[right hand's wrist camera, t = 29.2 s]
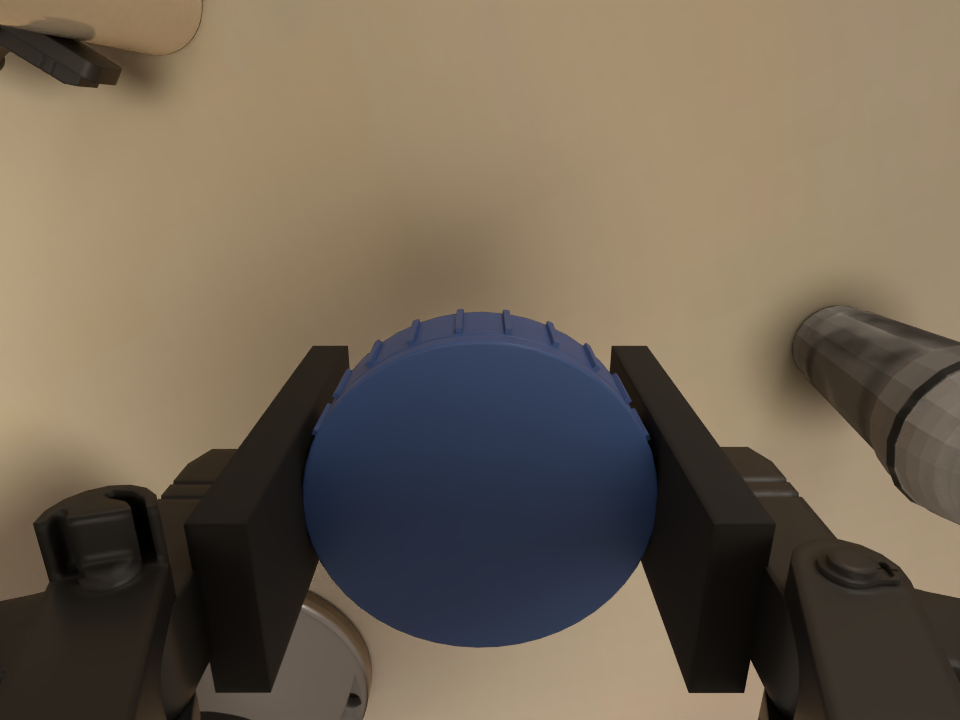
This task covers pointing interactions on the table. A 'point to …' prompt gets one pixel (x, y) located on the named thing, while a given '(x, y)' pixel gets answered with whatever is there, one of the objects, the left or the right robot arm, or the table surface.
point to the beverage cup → (892, 396)
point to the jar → (109, 21)
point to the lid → (480, 481)
